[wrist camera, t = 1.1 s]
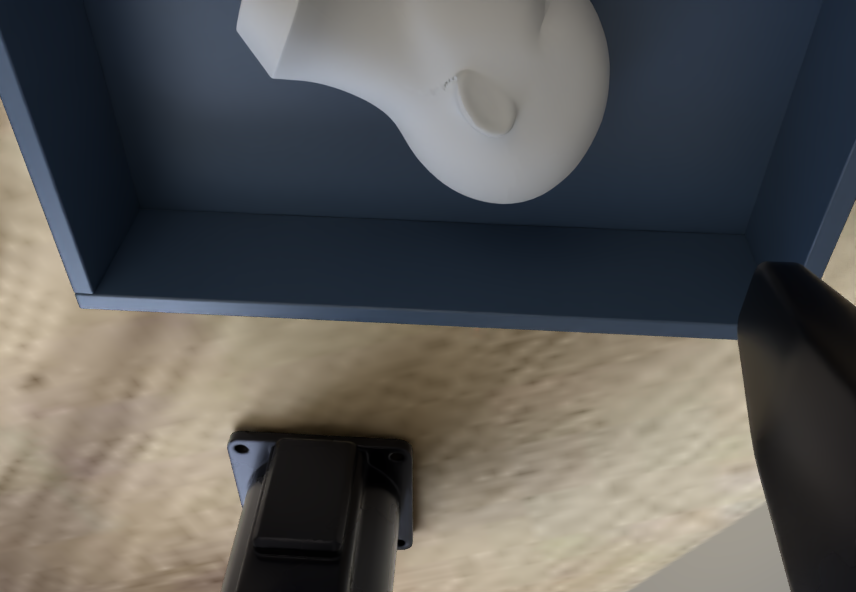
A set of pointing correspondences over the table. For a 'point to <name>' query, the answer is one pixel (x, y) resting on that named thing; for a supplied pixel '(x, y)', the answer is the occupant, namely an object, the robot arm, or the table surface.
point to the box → (417, 187)
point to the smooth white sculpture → (455, 79)
